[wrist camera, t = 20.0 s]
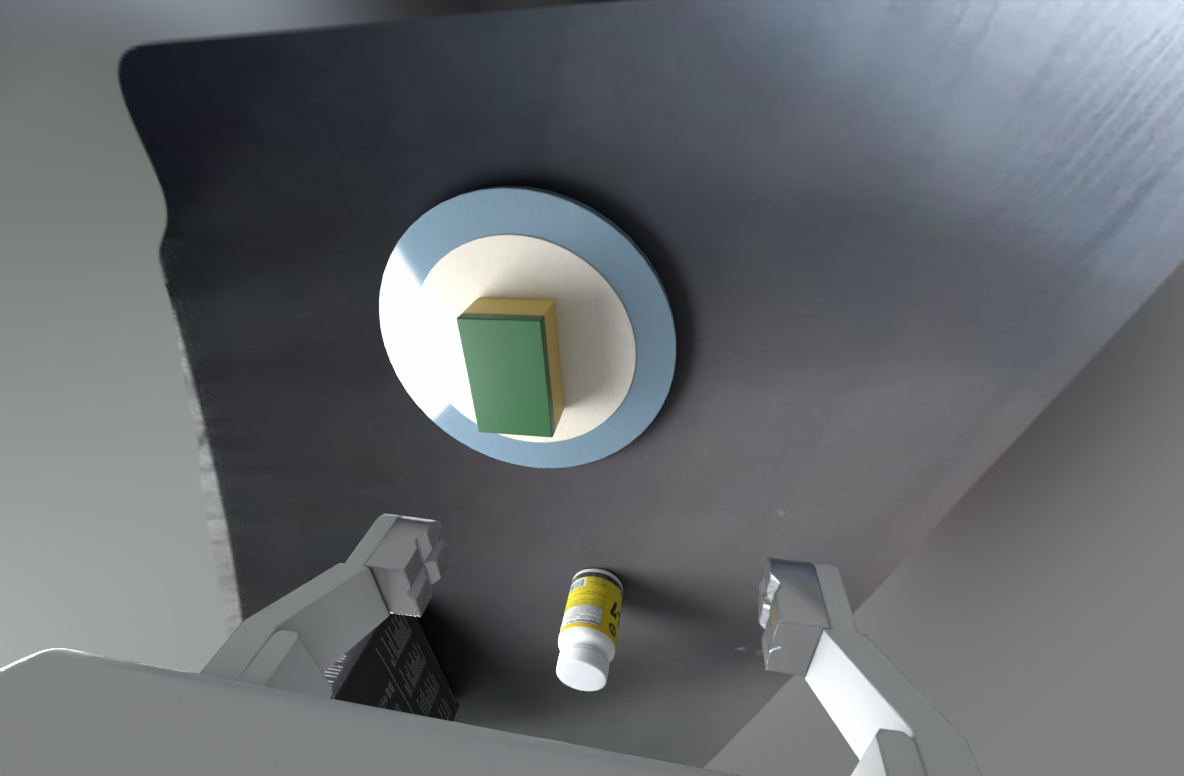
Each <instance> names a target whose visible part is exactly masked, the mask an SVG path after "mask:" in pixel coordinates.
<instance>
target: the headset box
mask: <svg viewBox="0 0 1184 776" xmlns="http://www.w3.org/2000/svg"><path fill="white" fill-rule="evenodd" d="M307 582H309V580H308V581H307ZM307 582H306V583H307ZM306 583H305V584H306ZM323 674H324V676H325V678H326V679H327V681H328V682H329V684H330V686H331V687H332V693H333V694H332V695H331V697H330V699H336V700H341V701H346V702H352V703H357V704H362V705H368V706H373V707H378V708H384V709H389V710H394V711H400V712H405V713H410V714H416V715H421V716H426V717H431V718H437V719H442V720H447V721H453V720H454V717H455V715H456V712H457V710H458V707H459V703H458V702H457V700H456V698H455V696H454V694H453V692H452V690H451V688H450V686H449V684H448V682H447V679H446V677H445V676H444V673H443V671H442V669H441V667H440V665H439V663H438V661H437V659H436V657H435V655H434V652H433V650H432V648H431V646H430V644H429V642H428V640H427V638H426V636H425V633H424V631H423V630H422V627H421V625H420V623H419V621H418V619H417V617H414V616H406V615H398V614H390V613H389V616H388V617H387V618H386V619H385V620H384V621H383V622H381V623H380V624H379V625H378V626H377V627H376V628H374V629H373V630H372V631H371V632H370V633H369V634H367V635H366V636H365V637H364V638H363V639H362V640H360V641H359V642H358V643H357V644H356V645H355V646H353V647H352V648H351V649H350V650H349V651H348V652H346V653H345V654H344V655H343V656H342V657H341V658H340V659H338V660H337V661H336V662H335V663H334V664H333V665H331V666H330V667H329V668H328V669H327V670H326V671H324V672H323Z"/></svg>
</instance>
